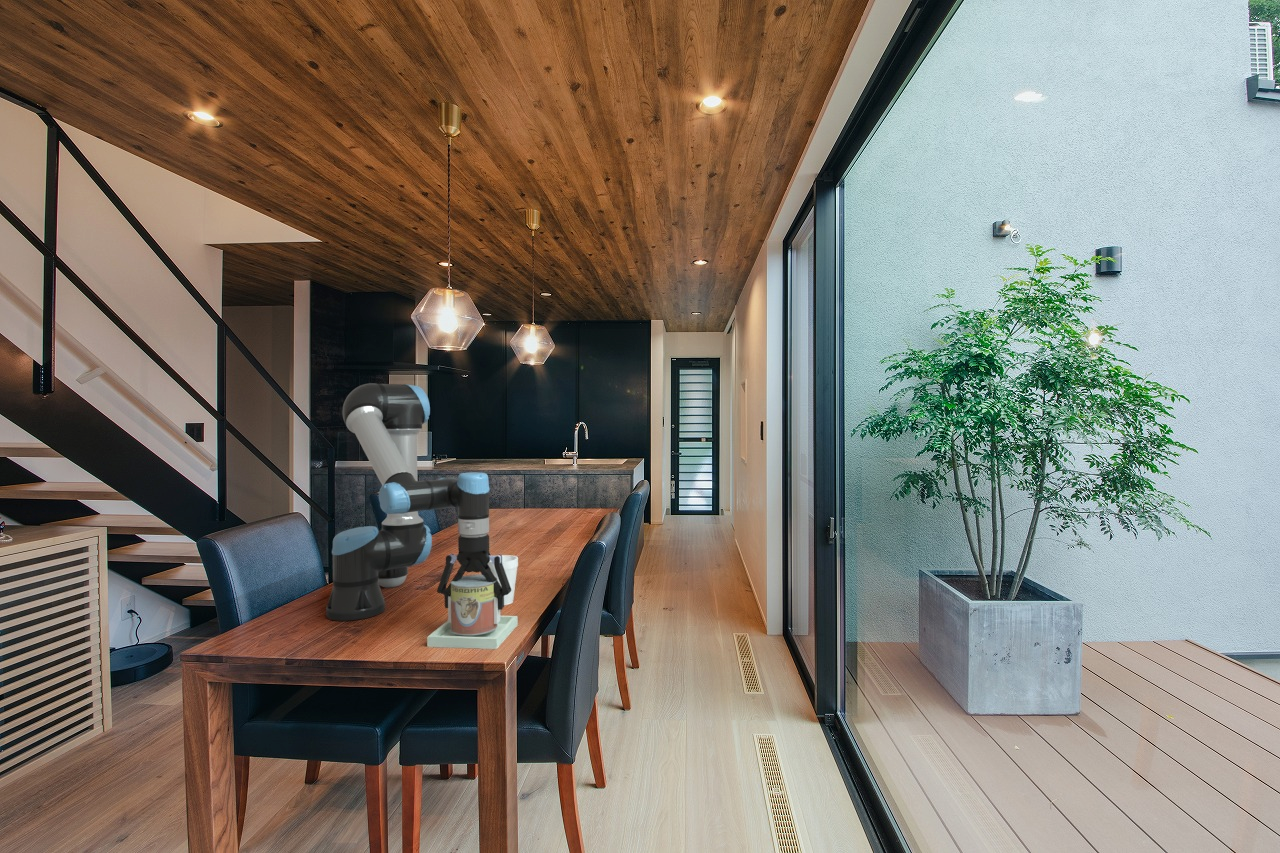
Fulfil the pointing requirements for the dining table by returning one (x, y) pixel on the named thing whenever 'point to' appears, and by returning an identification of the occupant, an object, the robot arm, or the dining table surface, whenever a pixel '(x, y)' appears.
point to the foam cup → (507, 574)
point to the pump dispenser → (392, 577)
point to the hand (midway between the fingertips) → (474, 621)
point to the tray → (483, 641)
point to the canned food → (472, 606)
